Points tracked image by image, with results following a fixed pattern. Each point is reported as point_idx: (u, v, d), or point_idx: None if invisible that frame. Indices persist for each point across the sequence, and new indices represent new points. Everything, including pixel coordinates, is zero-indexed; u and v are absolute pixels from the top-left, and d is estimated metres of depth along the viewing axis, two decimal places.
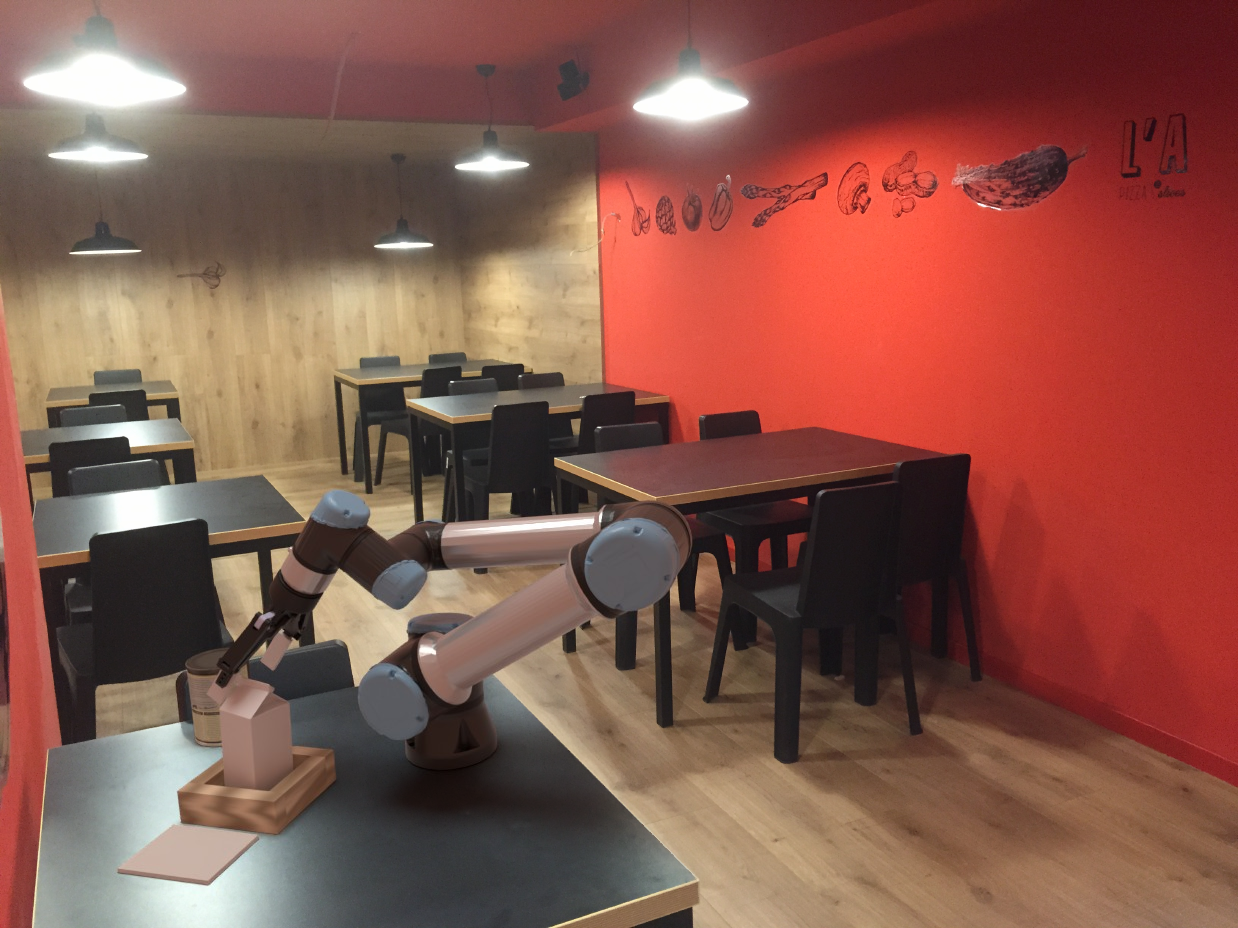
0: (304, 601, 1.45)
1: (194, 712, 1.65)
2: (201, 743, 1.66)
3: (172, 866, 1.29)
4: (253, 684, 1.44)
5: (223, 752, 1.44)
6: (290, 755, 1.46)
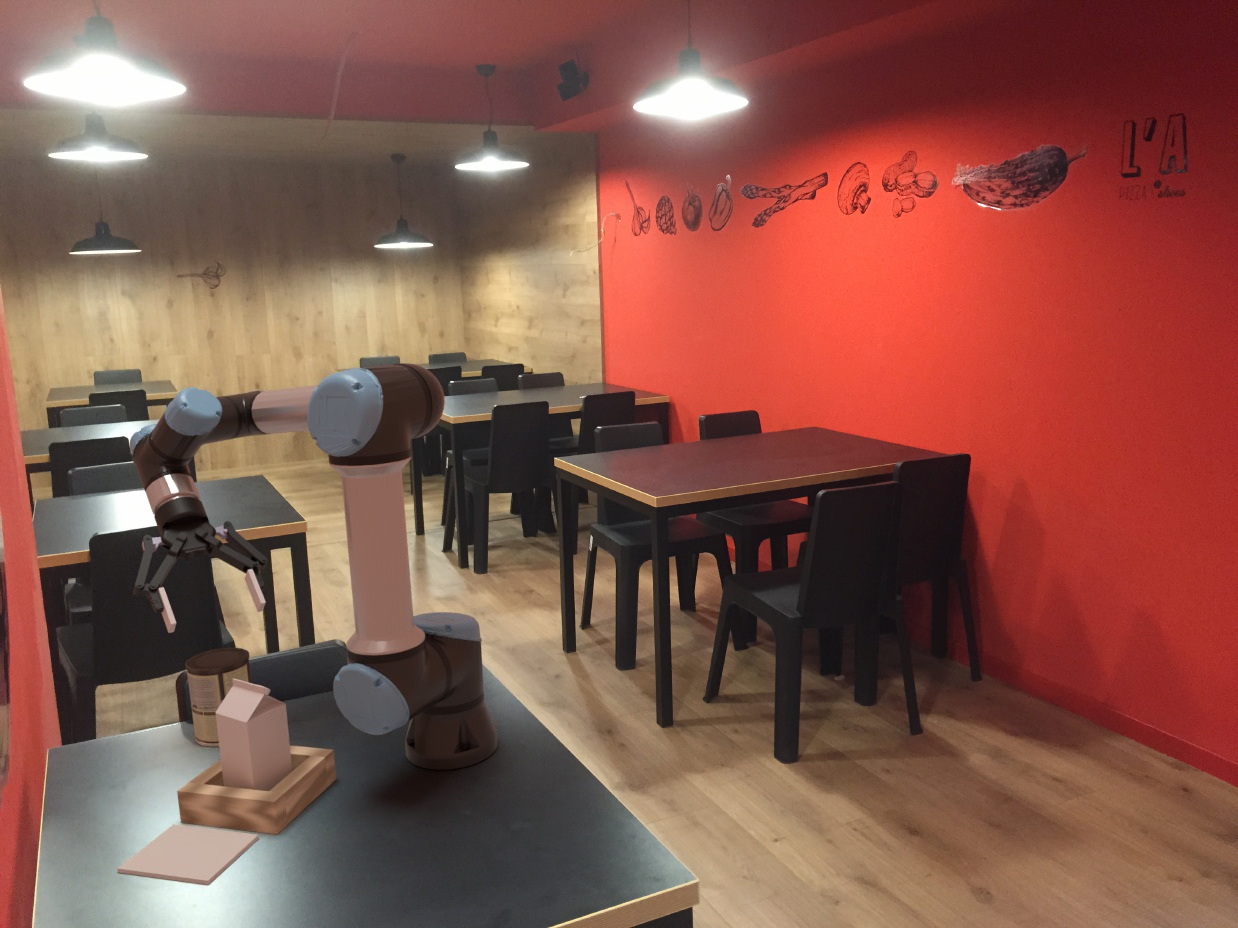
0: (167, 506, 1.55)
1: (194, 712, 1.65)
2: (201, 743, 1.66)
3: (172, 866, 1.29)
4: (248, 687, 1.43)
5: (221, 755, 1.44)
6: (288, 756, 1.46)
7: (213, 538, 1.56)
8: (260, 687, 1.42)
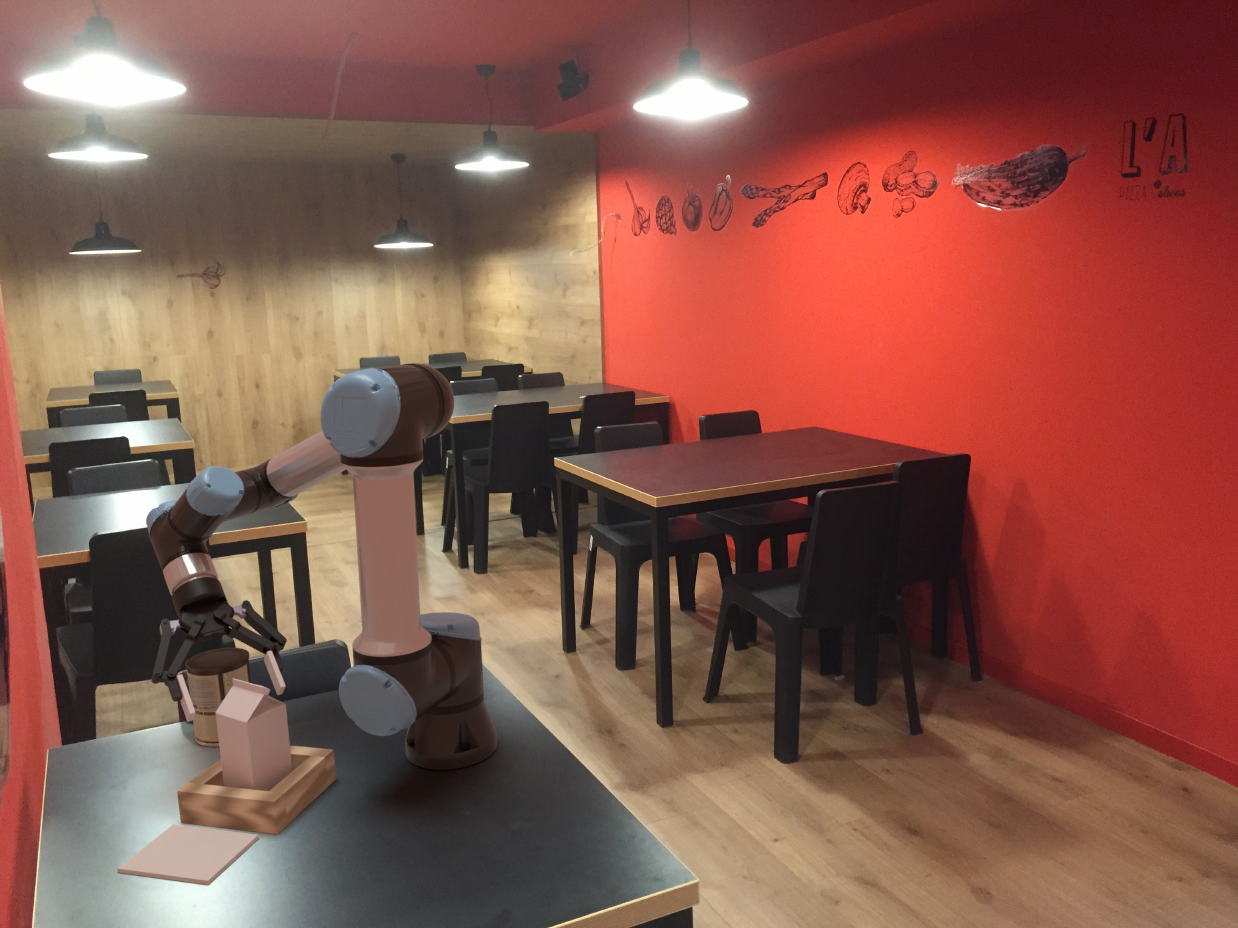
0: (184, 588, 1.52)
1: None
2: (201, 743, 1.66)
3: (172, 866, 1.29)
4: (248, 687, 1.43)
5: (221, 755, 1.44)
6: (288, 756, 1.46)
7: (231, 619, 1.54)
8: (260, 687, 1.42)
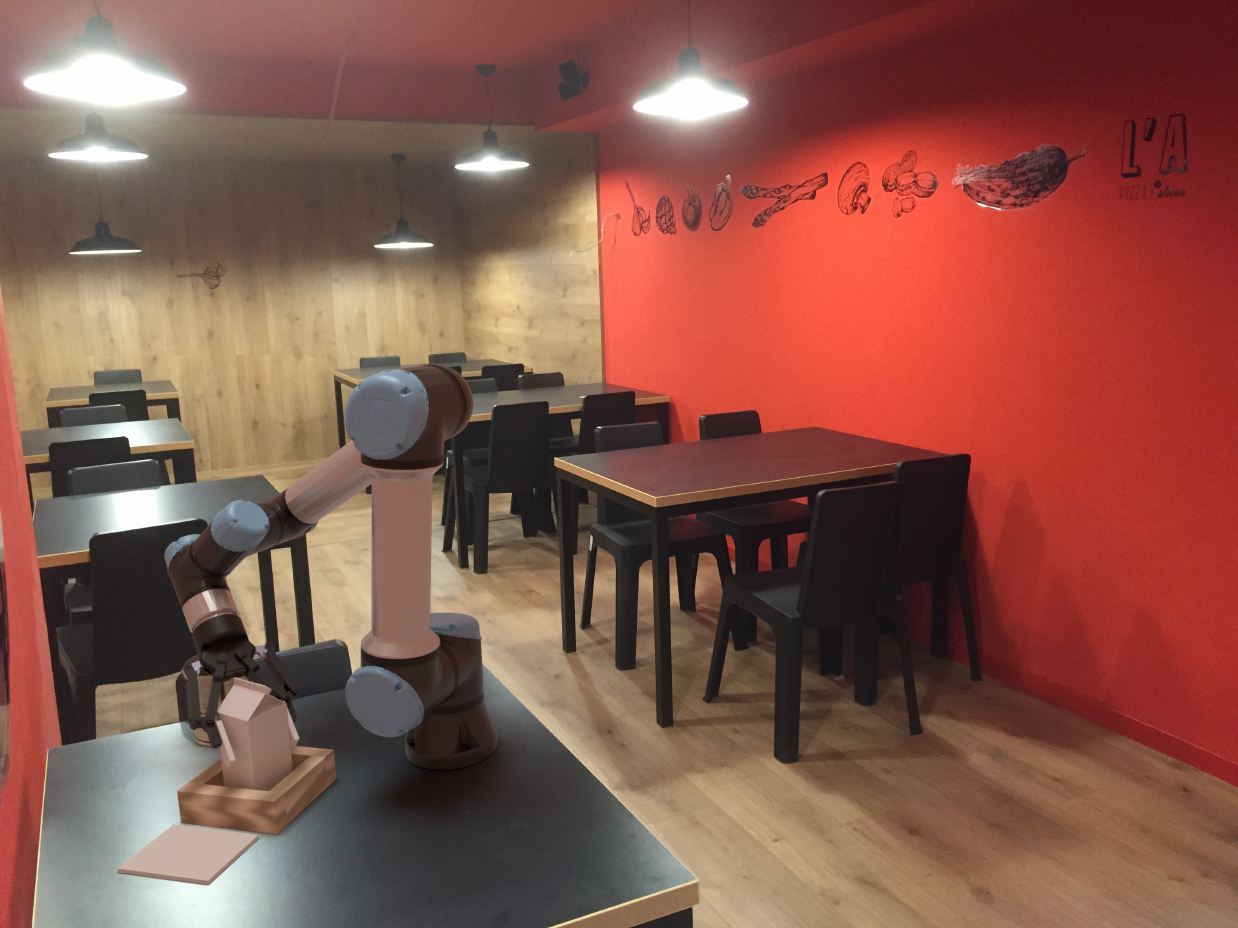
0: (205, 626, 1.48)
1: None
2: (201, 743, 1.66)
3: (172, 866, 1.29)
4: (249, 686, 1.43)
5: (221, 754, 1.44)
6: (289, 755, 1.46)
7: (251, 660, 1.49)
8: (261, 686, 1.42)
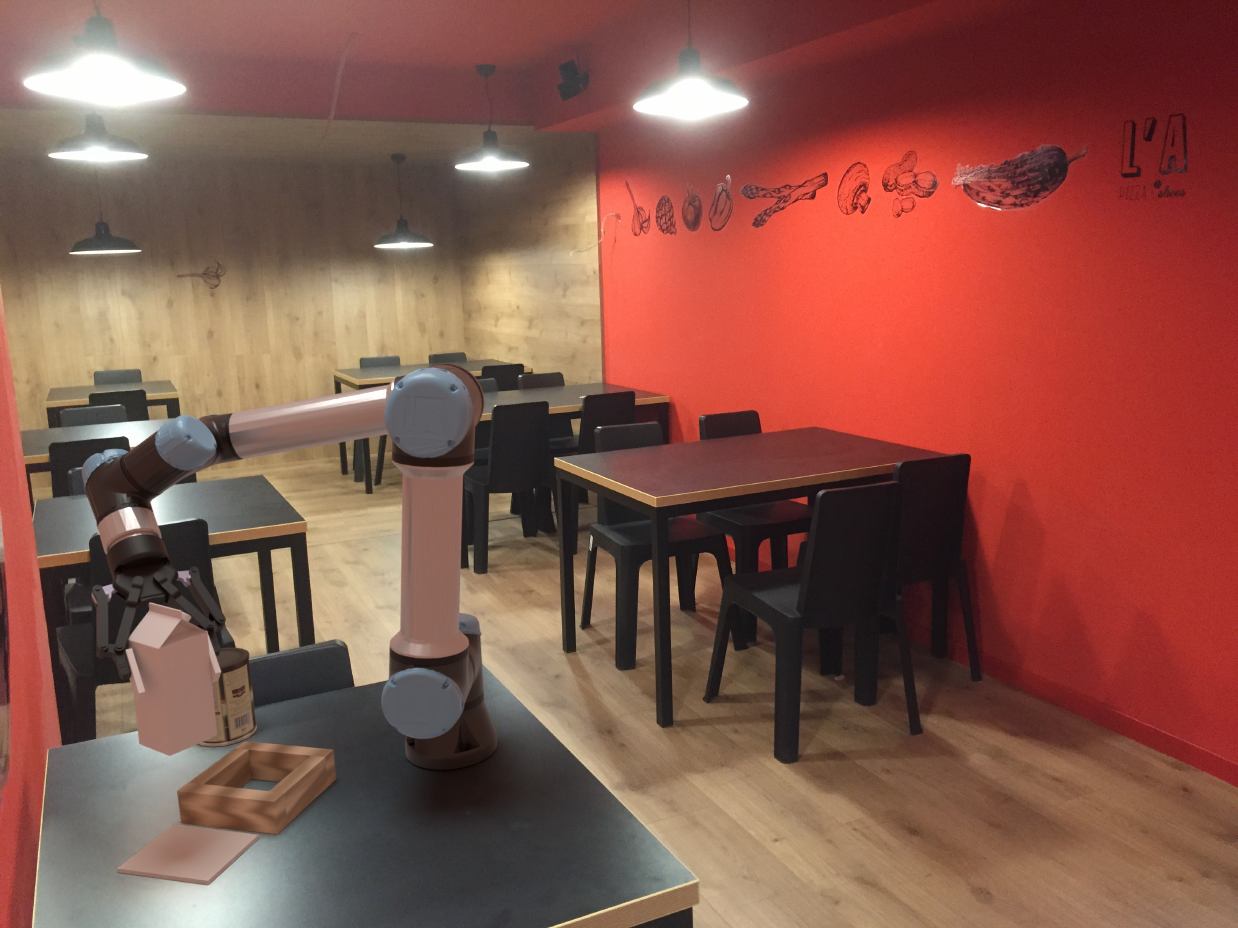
0: (120, 546, 1.33)
1: None
2: (201, 743, 1.66)
3: (172, 866, 1.29)
4: (165, 611, 1.28)
5: None
6: (210, 691, 1.31)
7: (171, 586, 1.34)
8: (177, 611, 1.27)
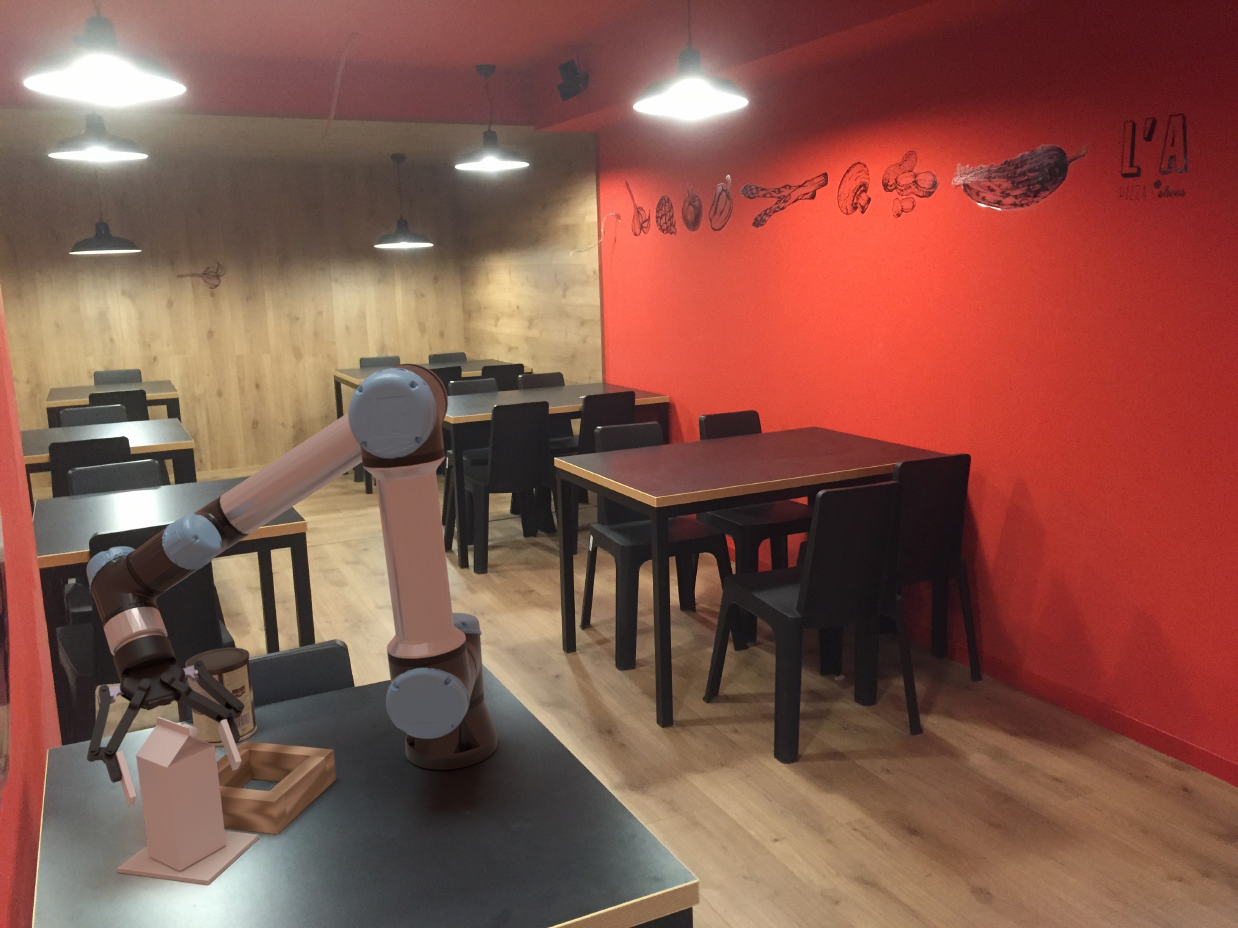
0: (127, 648, 1.34)
1: (194, 712, 1.65)
2: None
3: None
4: (172, 726, 1.29)
5: (142, 802, 1.30)
6: (218, 802, 1.32)
7: (181, 683, 1.35)
8: (184, 727, 1.28)
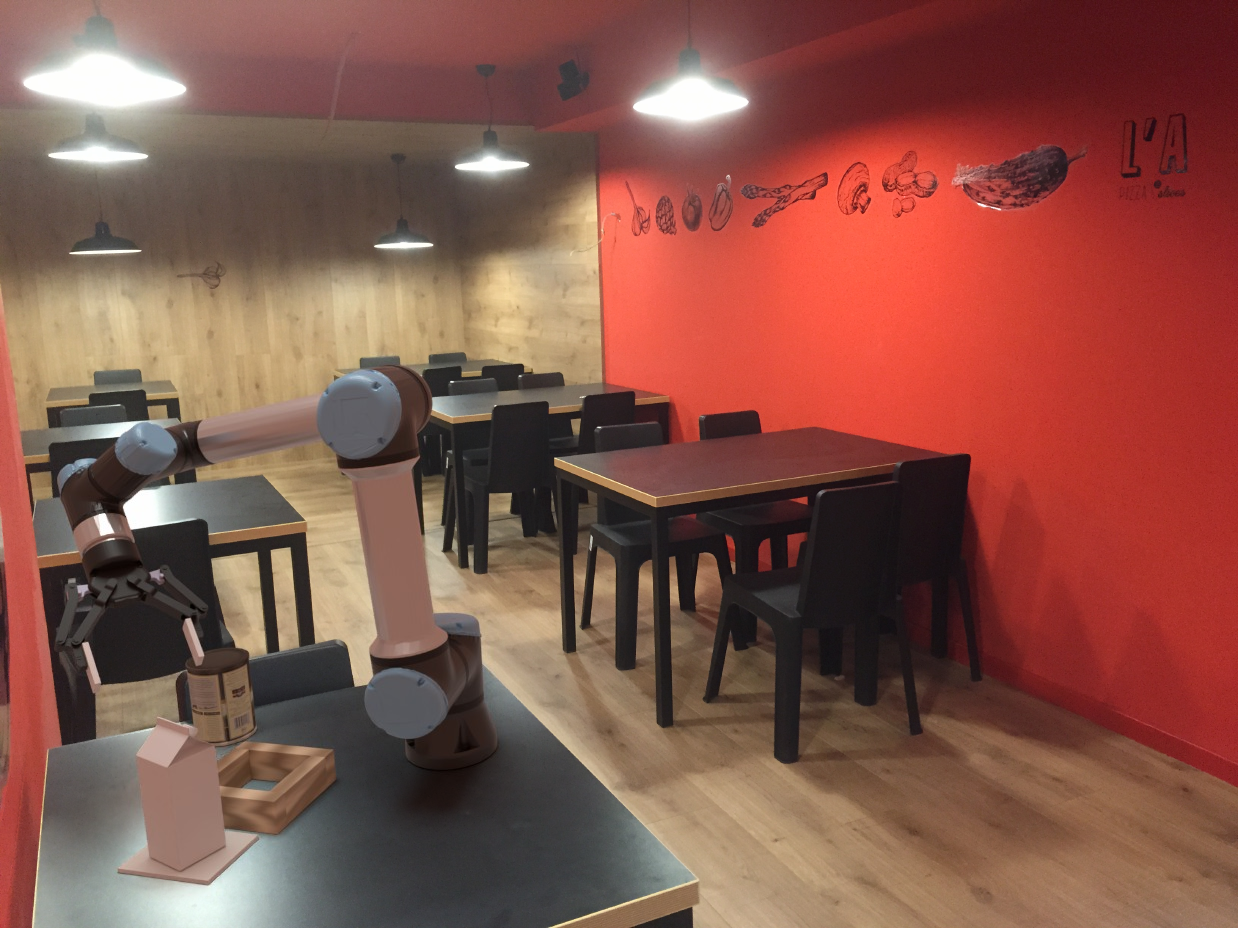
0: (94, 550, 1.40)
1: (194, 712, 1.65)
2: None
3: None
4: (172, 726, 1.29)
5: (142, 802, 1.30)
6: (218, 802, 1.32)
7: (147, 584, 1.42)
8: (184, 727, 1.28)
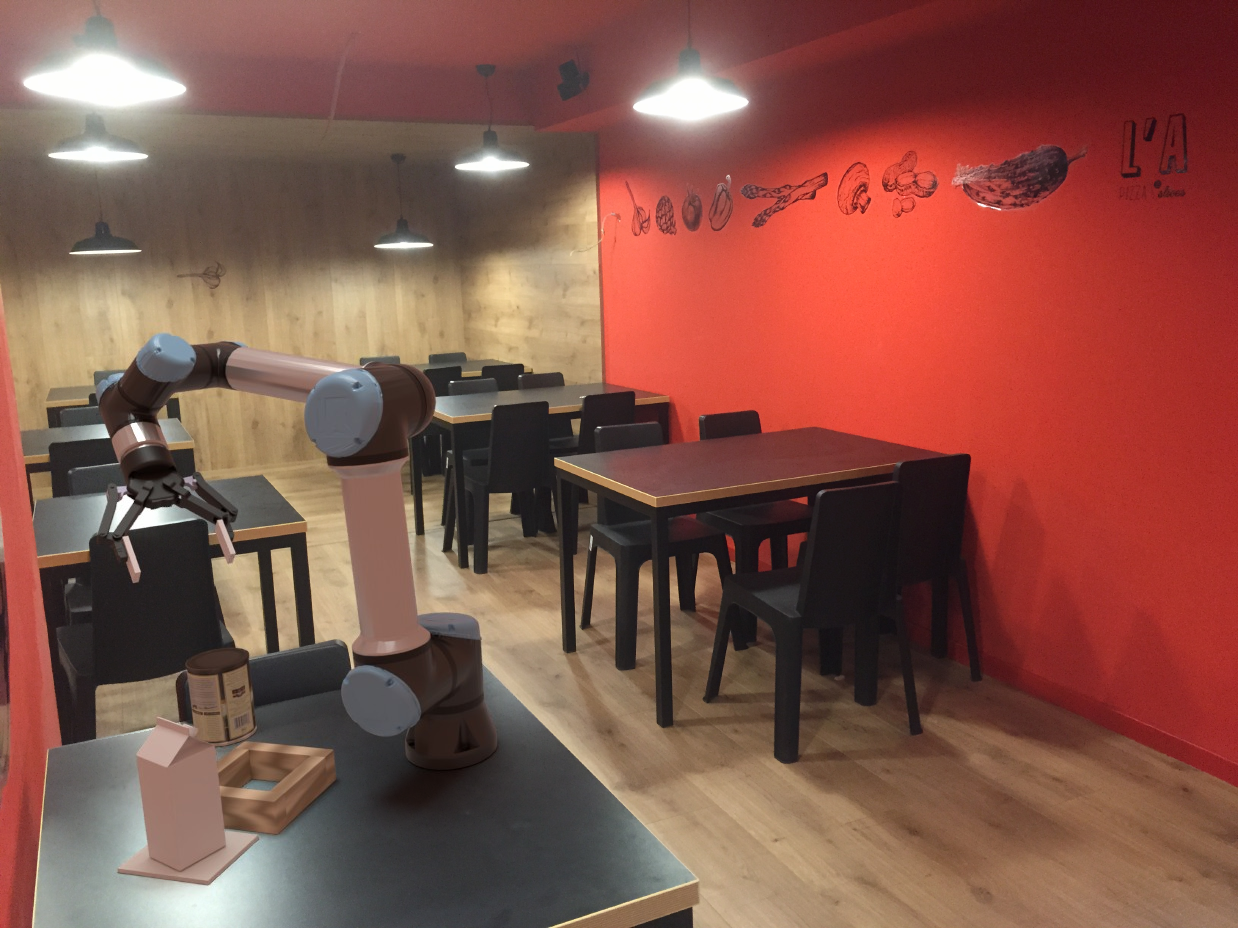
0: (132, 454, 1.49)
1: (194, 712, 1.65)
2: None
3: None
4: (172, 726, 1.29)
5: (142, 802, 1.30)
6: (218, 802, 1.32)
7: (181, 488, 1.51)
8: (184, 727, 1.28)
